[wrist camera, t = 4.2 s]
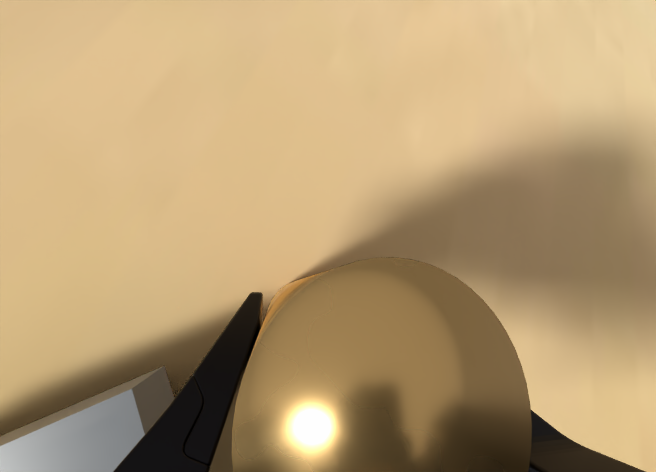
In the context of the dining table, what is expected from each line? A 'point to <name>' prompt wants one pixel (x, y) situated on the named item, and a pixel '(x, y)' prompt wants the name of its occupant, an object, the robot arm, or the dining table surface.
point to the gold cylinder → (382, 378)
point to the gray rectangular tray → (89, 429)
